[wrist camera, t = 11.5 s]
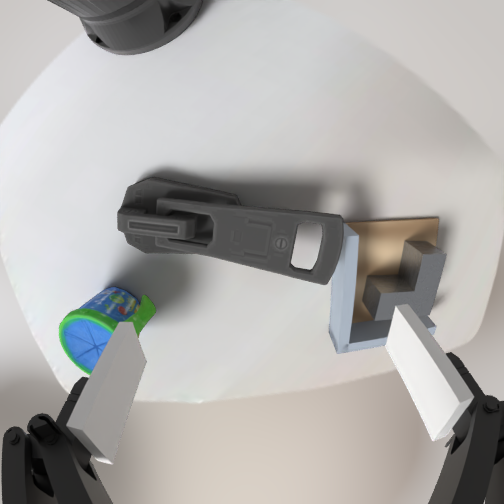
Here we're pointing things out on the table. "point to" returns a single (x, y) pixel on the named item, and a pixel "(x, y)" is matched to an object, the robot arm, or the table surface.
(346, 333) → the corner walls
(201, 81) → the table surface
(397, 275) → the angle bracket
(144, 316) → the snack cup
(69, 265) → the table surface
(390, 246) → the cork mat
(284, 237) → the zipper pull
